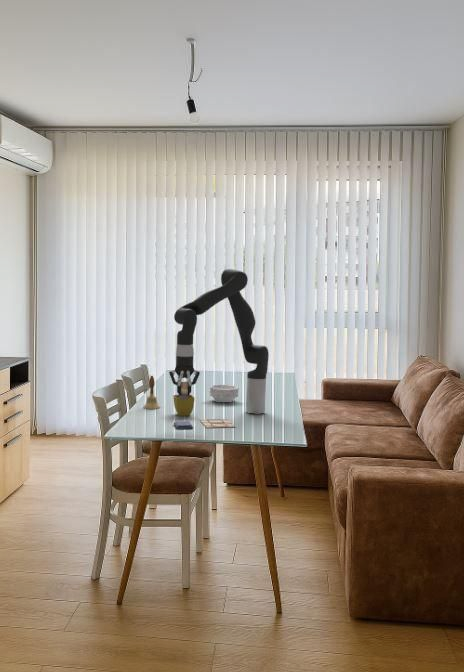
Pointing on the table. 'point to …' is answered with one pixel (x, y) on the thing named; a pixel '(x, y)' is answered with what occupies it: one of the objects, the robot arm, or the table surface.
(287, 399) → the table surface
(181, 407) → the flower pot
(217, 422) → the sheet
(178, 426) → the ink pad
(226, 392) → the stone bowl
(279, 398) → the table surface
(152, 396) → the hand bell
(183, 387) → the stamp
